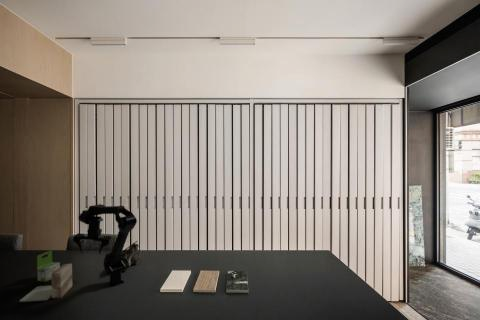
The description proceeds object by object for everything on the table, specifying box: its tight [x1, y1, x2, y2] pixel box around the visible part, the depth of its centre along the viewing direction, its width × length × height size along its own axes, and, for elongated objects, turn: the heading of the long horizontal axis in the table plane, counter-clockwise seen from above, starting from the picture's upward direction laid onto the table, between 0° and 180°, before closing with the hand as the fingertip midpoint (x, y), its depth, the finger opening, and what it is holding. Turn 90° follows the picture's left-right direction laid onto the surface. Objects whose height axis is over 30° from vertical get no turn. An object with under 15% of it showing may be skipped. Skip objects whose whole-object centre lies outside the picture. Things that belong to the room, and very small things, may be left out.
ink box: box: [36, 249, 61, 283], centre depth 163 cm, size 10×5×14 cm, turn 168°
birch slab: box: [51, 263, 73, 299], centre depth 146 cm, size 4×12×12 cm, turn 7°
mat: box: [19, 284, 52, 303], centre depth 145 cm, size 12×15×1 cm
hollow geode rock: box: [114, 240, 142, 272], centre depth 181 cm, size 28×13×15 cm
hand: (91, 253), depth 165 cm, fingers open, 9 cm apart
